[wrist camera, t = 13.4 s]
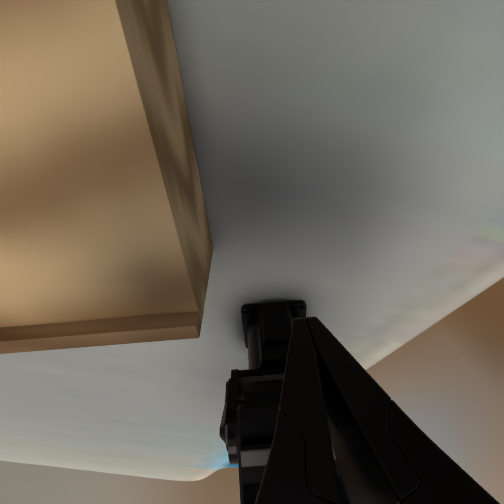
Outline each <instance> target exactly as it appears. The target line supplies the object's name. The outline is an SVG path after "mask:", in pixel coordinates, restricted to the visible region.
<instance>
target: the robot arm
mask: <svg viewBox="0 0 504 504" xmlns="http://www.w3.org/2000/svg"><path fill="white" fill-rule="evenodd" d="M301 305H302V306H301ZM245 310H247V311H245ZM241 314H242V322H243V329H244V337H245V344H246V348H248V360H249V370H238V369H235V370H231V379H229V381H228V382H226V397H225V406H224V410H223V415H222V420H221V425H220V437H221V439H222V440H223V441H224V442H225V443H226V448H227V451H228V455H229V461H230V464H239V482H240V501H241V504H499V502H497V501H496V500H495V499H494V498H493V497H492V496H491V495H490V494H489V493H488V492H487V491H485V490H484V489H483V488H482V487H481V486H480V485H479V484H478V483H477V482H476V481H475V480H473V478H472V477H470V476H469V475H468V474H467V473H466V472H465V471H464V470H463V469H462V468H461V467H460V466H459V465H458V464H456V463H455V462H454V461H453V460H452V459H451V458H450V457H449V456H448V455H447V454H446V453H445V452H444V451H442V450H441V449H440V448H439V447H438V446H437V445H436V444H435V443H434V442H433V441H432V440H431V439H430V438H429V437H428V436H427V435H426V434H425V433H424V432H423V431H422V430H421V429H420V428H419V427H418V426H417V425H416V424H415V423H414V422H413V421H412V420H411V419H410V418H409V417H408V416H407V415H406V414H405V413H404V412H403V411H402V410H401V408H400V407H398V405H397V404H396V403H395V402H394V401H393V400H391V398H390V397H389V395H388V394H387V393H386V392H385V391H384V390H383V389H382V388H381V387H380V386H379V385H378V383H377V382H376V381H375V380H374V379H373V378H372V377H371V376H370V375H369V374H368V373H367V372H366V370H365V369H364V368H363V367H362V366H361V365H360V364H359V363H358V362H357V361H356V359H355V358H354V357H353V356H352V355H351V354H350V353H349V352H348V351H347V350H346V349H345V348H344V346H343V345H342V344H341V343H340V342H339V341H338V340H337V339H336V338H335V337H334V336H333V334H332V333H331V332H330V331H329V330H328V329H327V328H326V327H325V326H324V325H323V324H322V322H321V321H320V320H319V319H318V318H317V317H306V304H305V302H304V301H293V302H280V303H268V304H256V305H245V306H243V307H242V308H241Z"/></svg>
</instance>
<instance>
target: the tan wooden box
mask: <svg viewBox="0 0 504 504" xmlns="http://www.w3.org/2000/svg"><path fill="white" fill-rule="evenodd" d="M212 253H213V247H212V241H211V236H210V231H209V225H208V220H207V214H206V209H205V204H204V198H203V193H202V187H201V182H200V176H199V171H198V166H197V160H196V155H195V149H194V144H193V139H192V133H191V128H190V122H189V117H188V112H187V106H186V101H185V95H184V90H183V85H182V79H181V74H180V68H179V63H178V57H177V52H176V47H175V41H174V36H173V30H172V25H171V20H170V14H169V9H168V3H167V0H0V354H4V353H17V352H29V351H41V350H54V349H66V348H78V347H91V346H103V345H116V344H128V343H140V342H153V341H165V340H177V339H190V338H199V336H200V330H201V323H202V317H203V310H204V304H205V298H206V291H207V285H208V278H209V272H210V266H211V259H212Z"/></svg>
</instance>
